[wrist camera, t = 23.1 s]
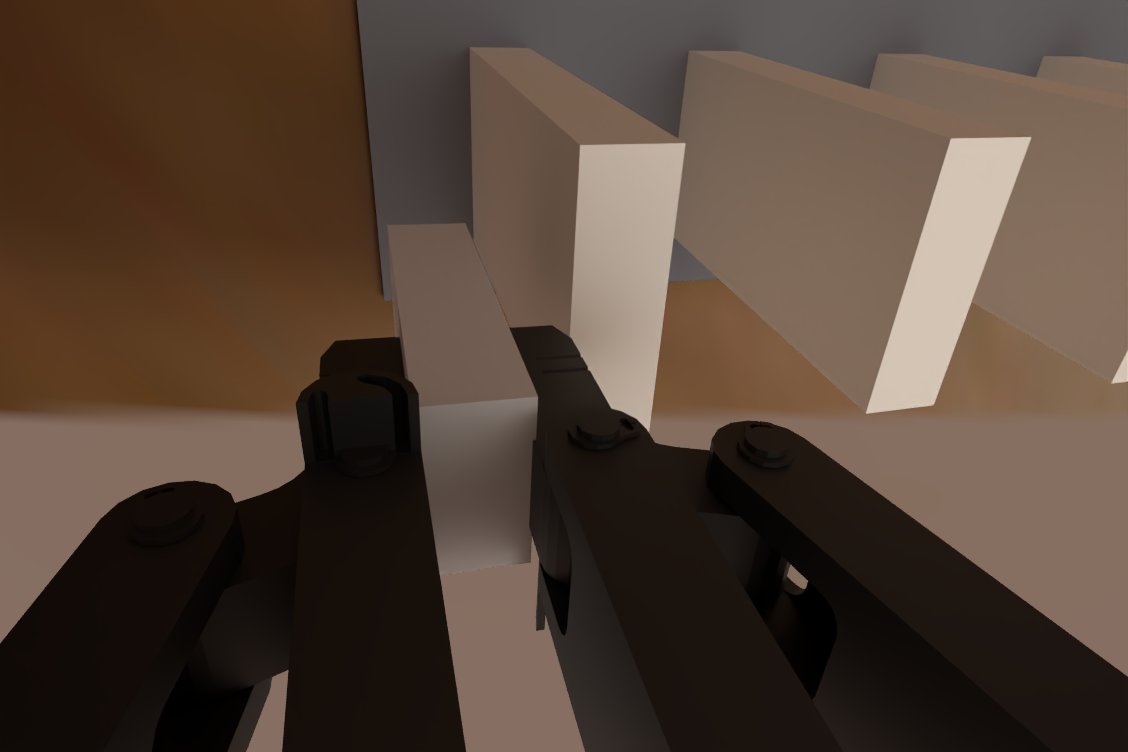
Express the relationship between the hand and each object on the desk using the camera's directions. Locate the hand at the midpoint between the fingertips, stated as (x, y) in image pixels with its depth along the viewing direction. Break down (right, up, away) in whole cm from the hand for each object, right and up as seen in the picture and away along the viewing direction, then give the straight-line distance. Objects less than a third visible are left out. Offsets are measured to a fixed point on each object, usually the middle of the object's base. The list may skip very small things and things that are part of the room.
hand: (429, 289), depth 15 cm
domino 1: (+1, +6, +9) cm, 10 cm away
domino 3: (+14, +7, +12) cm, 20 cm away
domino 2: (+7, +6, +10) cm, 14 cm away
